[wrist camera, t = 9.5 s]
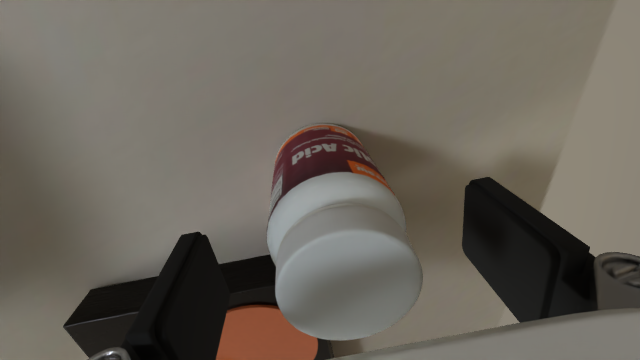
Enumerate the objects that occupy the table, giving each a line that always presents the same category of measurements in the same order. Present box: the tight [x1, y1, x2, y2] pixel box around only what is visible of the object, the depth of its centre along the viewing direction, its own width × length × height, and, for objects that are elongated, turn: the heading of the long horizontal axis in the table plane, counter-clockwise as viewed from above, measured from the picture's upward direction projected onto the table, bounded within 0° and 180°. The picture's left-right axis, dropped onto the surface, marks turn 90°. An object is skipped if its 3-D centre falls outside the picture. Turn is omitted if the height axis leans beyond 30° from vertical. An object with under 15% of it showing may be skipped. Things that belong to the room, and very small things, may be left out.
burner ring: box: [216, 305, 318, 360], centre depth 17 cm, size 7×7×1 cm
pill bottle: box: [267, 123, 423, 341], centre depth 12 cm, size 5×5×8 cm
